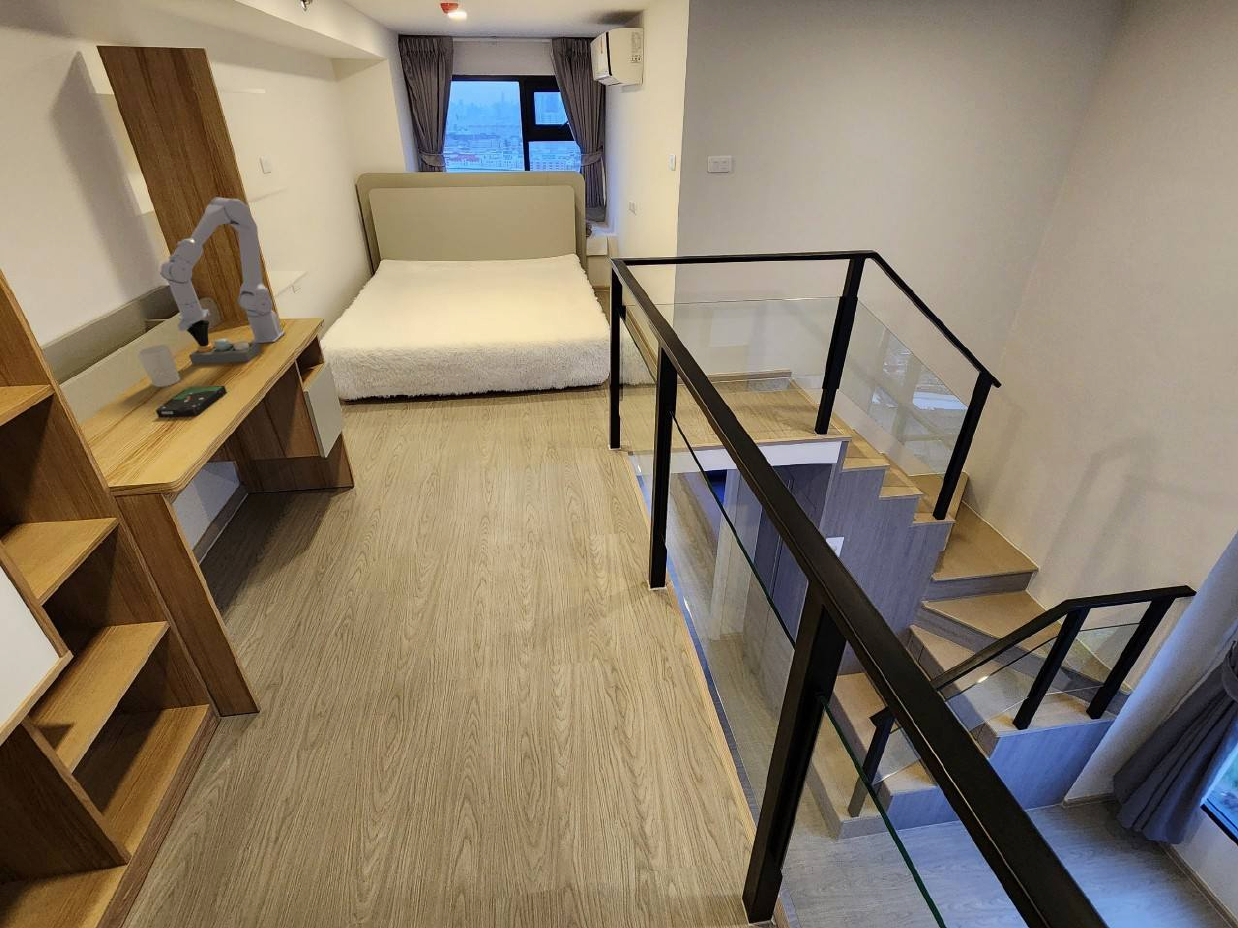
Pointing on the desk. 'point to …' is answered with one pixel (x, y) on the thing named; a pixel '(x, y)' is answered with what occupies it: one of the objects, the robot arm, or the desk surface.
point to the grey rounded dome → (222, 344)
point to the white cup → (159, 365)
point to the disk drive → (191, 401)
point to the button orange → (205, 348)
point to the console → (225, 355)
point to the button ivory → (241, 345)
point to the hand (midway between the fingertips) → (204, 345)
